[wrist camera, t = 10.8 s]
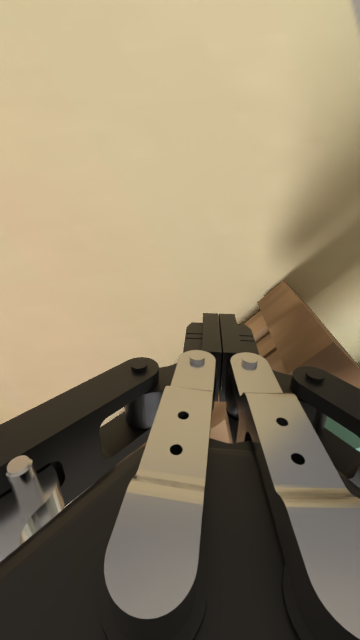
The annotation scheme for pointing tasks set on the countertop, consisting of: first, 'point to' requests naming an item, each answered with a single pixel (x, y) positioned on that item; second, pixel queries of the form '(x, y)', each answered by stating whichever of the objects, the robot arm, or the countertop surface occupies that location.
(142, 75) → the countertop surface
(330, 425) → the stop block
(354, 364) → the gate
